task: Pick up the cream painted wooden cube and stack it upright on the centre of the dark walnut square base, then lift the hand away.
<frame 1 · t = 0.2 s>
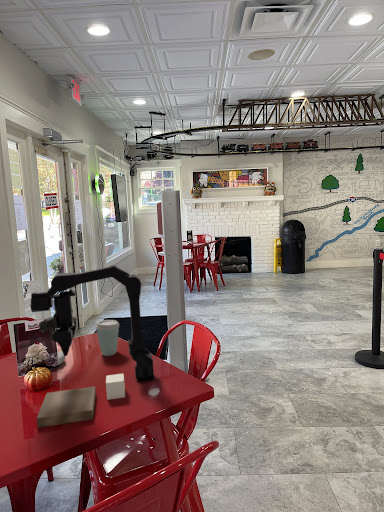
hand: (67, 350, 130), 14 cm above the table, fingers open, 9 cm apart
robot toy: (47, 366, 154), on the table
disposable coffee cup: (109, 353, 164), on the table
cream cube: (116, 394, 125), on the table
walnut base: (69, 409, 116), on the table
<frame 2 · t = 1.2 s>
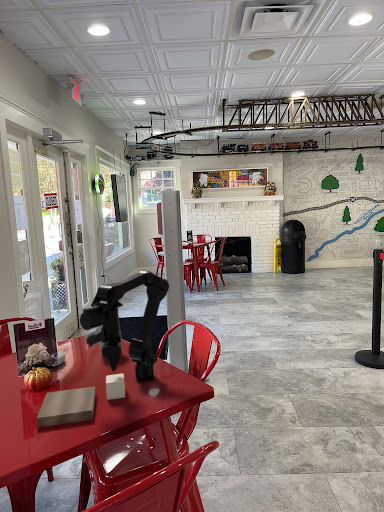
hand: (113, 365, 124), 10 cm above the table, fingers open, 9 cm apart
nothing on the table moved.
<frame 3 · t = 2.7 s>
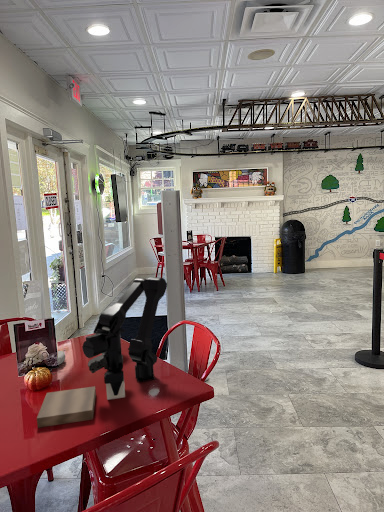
hand: (115, 390, 125), 1 cm above the table, fingers closed on cream cube, 6 cm apart
cream cube: (116, 394, 125), on the table, touching gripper
everything else where it was.
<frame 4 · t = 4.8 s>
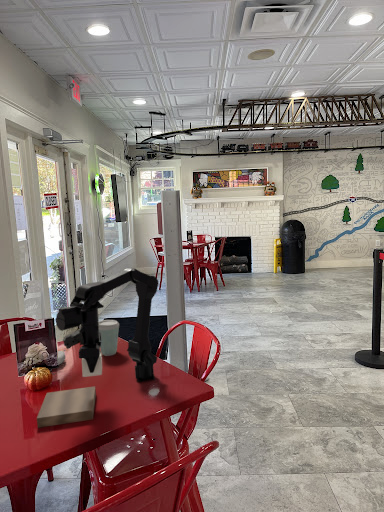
hand: (92, 368, 120), 12 cm above the table, fingers closed on cream cube, 6 cm apart
cream cube: (92, 372, 120), point 10 cm above the table, touching gripper
everything else where it was.
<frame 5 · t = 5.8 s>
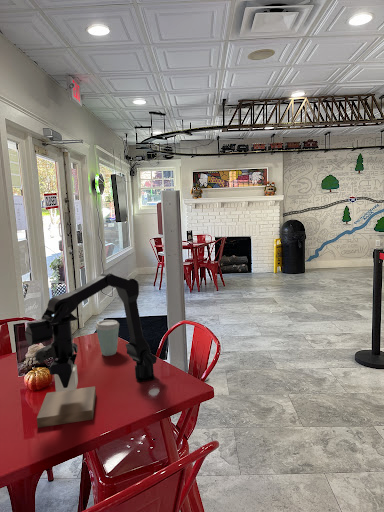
hand: (67, 383, 115), 9 cm above the table, fingers closed on cream cube, 6 cm apart
cream cube: (67, 386, 116), point 8 cm above the table, touching gripper
everything else where it was.
when the fingers open (5 cm above the table, at t = 6.9 s): cream cube stays where it is, resting on walnut base.
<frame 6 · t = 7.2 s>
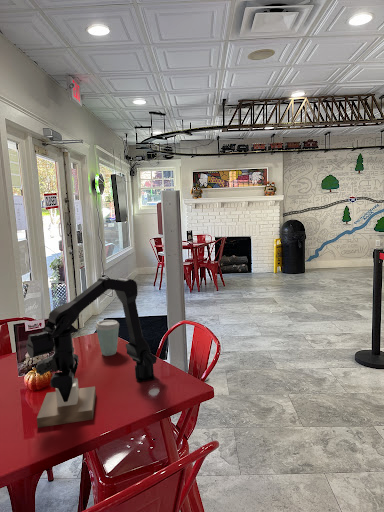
hand: (67, 394, 116), 5 cm above the table, fingers open, 9 cm apart
cream cube: (68, 400, 116), point 3 cm above the table, touching walnut base
everything else where it was.
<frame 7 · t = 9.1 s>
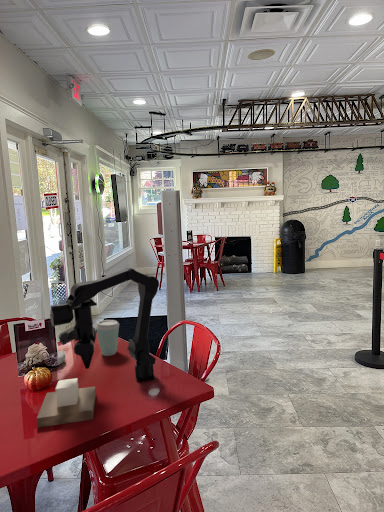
hand: (88, 363, 125), 11 cm above the table, fingers open, 9 cm apart
nothing on the table moved.
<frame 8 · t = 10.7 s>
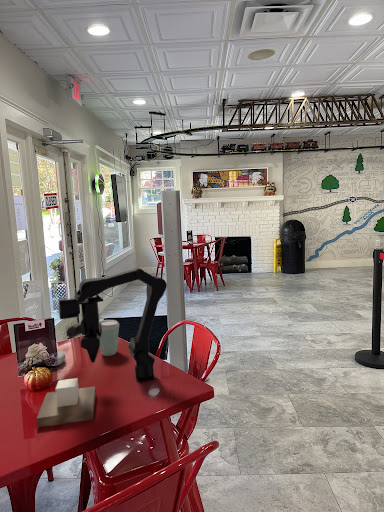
hand: (93, 357, 128), 12 cm above the table, fingers open, 9 cm apart
nothing on the table moved.
at the end: cream cube inside the target area on the walnut base (0.0 cm from its centre), point 3.0 cm above the walnut base's base; cream cube tilted 0°; the gripper is holding nothing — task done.
